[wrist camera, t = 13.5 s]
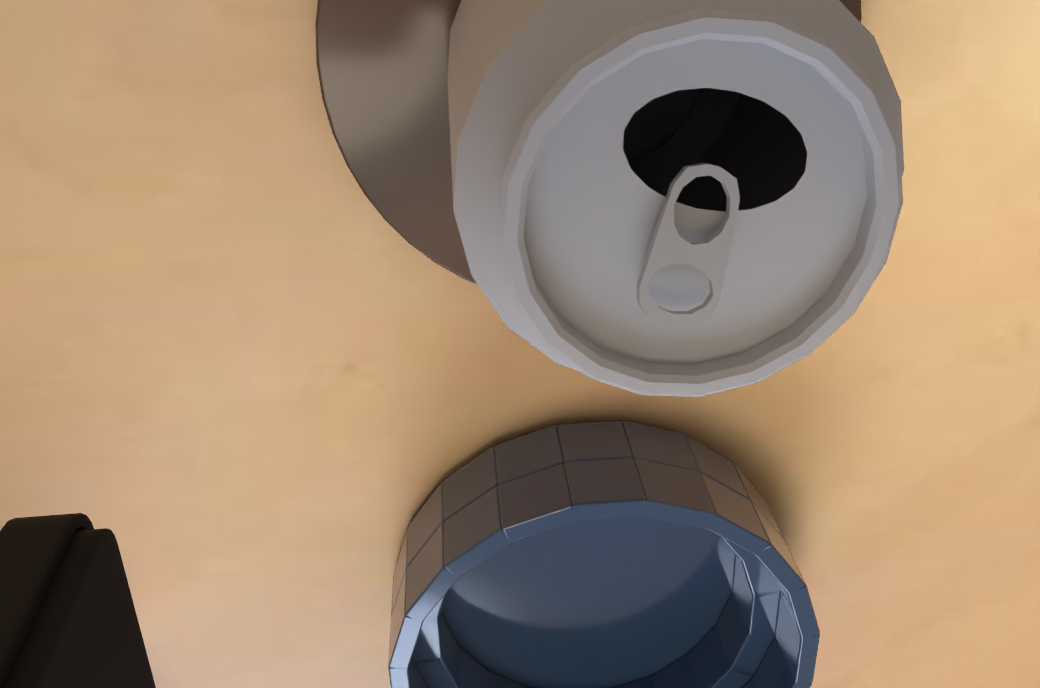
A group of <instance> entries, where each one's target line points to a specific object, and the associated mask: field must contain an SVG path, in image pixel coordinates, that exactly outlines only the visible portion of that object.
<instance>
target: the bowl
mask: <svg viewBox="0 0 1040 688" xmlns="http://www.w3.org/2000/svg"><path fill="white" fill-rule="evenodd" d="M819 636H820V631H819V627H818V624H817V620H816V617H815V613H814V610H813V606H812V603H811V599H810V596H809V592H808V589H807V586H806V583H805V581H804V579H803V577H802V575H801V573H800V571H799V569H798V567H797V565H796V563H795V561H794V559H793V557H792V554H791V552H790V550H789V548H788V546H787V544H786V543H785V540H784V538H783V536H782V534H781V532H780V530H779V528H778V526H777V524H776V522H775V520H774V518H773V516H772V513H771V511H770V509H769V507H768V505H767V503H766V501H765V500H764V498H763V497H762V496H761V495H760V494H759V492H758V491H757V490H756V489H755V488H754V486H753V485H752V484H751V483H750V481H749V480H748V479H747V478H746V477H745V475H744V474H743V473H742V472H741V471H740V469H739V468H738V467H737V466H736V465H735V463H732V461H730V460H728V459H727V458H725V457H723V456H721V455H720V454H718V453H716V452H714V451H713V450H711V449H709V448H707V447H706V446H704V445H702V444H700V443H699V442H697V441H695V440H693V439H692V438H690V437H688V436H687V435H683V433H680V432H675V431H671V430H666V429H661V428H657V427H652V426H647V425H643V424H638V423H633V422H629V421H624V420H623V421H622V422H621V421H607V422H591V423H576V424H560V425H557V426H556V425H553V426H550V427H547V428H544V429H541V430H538V431H535V432H533V433H530V434H527V435H524V436H521V437H518V438H515V439H512V440H509V441H506V442H503V443H500V444H497V445H495V446H494V447H491V448H490V449H488V450H487V451H485V452H484V453H482V454H481V455H479V456H478V457H477V458H475V459H474V460H472V461H471V462H469V463H468V464H466V465H465V466H464V467H462V468H461V469H459V470H458V471H456V472H455V473H454V474H452V475H451V476H449V477H448V478H446V479H445V480H444V481H443V482H441V484H440V485H439V486H438V487H437V489H436V490H435V491H434V493H433V494H432V495H431V497H430V498H429V499H428V501H427V502H426V503H425V504H424V506H423V507H422V508H421V510H420V511H419V512H418V514H417V515H416V516H415V518H414V519H413V520H412V521H411V523H410V524H409V526H408V529H407V531H406V535H405V538H404V541H403V545H402V548H401V551H400V555H399V558H398V561H397V565H396V568H395V572H394V576H393V593H392V611H391V630H390V648H389V666H388V668H389V676H390V685H391V688H810V687H811V685H812V682H813V676H814V669H815V663H816V656H817V650H818V643H819Z"/></svg>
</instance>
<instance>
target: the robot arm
mask: <svg viewBox="0 0 1040 688" xmlns="http://www.w3.org/2000/svg"><path fill="white" fill-rule="evenodd" d="M0 688H156V687H155V684H154V680H153V676H152V672H151V668H150V665H149V661H148V657H147V653H146V650H145V646H144V642H143V638H142V634H141V631H140V627H139V623H138V619H137V616H136V612H135V608H134V604H133V600H132V597H131V593H130V589H129V585H128V582H127V578H126V574H125V570H124V566H123V563H122V559H121V555H120V551H119V547H118V544H117V541H116V538H115V535H114V534H113V532H112V531H111V530H110V529H95V530H94V528H93V525H92V522H91V521H90V520H89V518H88V517H87V516H86V515H84V514H81V513H77V514H63V515H50V516H37V517H24V518H14V519H12V520H10V521H8V522H7V523H6V524H5V526H4V527H3V528H2V529H1V531H0Z"/></svg>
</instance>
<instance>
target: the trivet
mask: <svg viewBox="0 0 1040 688" xmlns="http://www.w3.org/2000/svg"><path fill="white" fill-rule="evenodd" d="M839 1H840V2H841V3H842V4H843V5H844V6H845V7H846V8H847V9H848V10H849V11H850V12H851V13H852V14H853V15H854V16H855V17H856V18H857V19H858V21H859V22H860V23H861V0H839ZM460 2H461V0H318V5H317V15H316V57H317V68H318V74H319V80H320V86H321V93H322V99H323V102H324V105H325V109H326V112H327V116H328V119H329V122H330V126H331V129H332V132H333V135H334V137H335V139H336V142H337V144H338V146H339V148H340V151H341V153H342V155H343V157H344V160H345V162H346V164H347V166H348V168H349V169H350V171H351V173H352V174H353V176H354V178H355V179H356V181H357V182H358V184H359V186H360V187H361V189H362V191H363V192H364V194H365V195H366V197H367V198H368V199H369V200H370V202H371V203H372V204H373V205H374V207H375V208H376V209H377V210H378V212H379V213H380V214H381V215H382V217H383V218H384V219H385V220H386V221H387V222H388V223H389V224H390V225H391V226H392V227H393V228H394V229H395V230H396V231H397V232H398V233H399V234H400V235H401V236H402V237H403V238H404V239H405V240H406V241H407V242H408V243H410V244H411V245H412V246H414V247H415V248H416V249H418V250H419V251H420V252H422V253H423V254H424V255H426V256H427V257H428V258H430V259H431V260H432V261H434V262H435V263H437V264H439V265H440V266H442V267H444V268H446V269H447V270H449V271H451V272H453V273H454V274H456V275H458V276H460V277H462V278H464V279H466V280H468V281H471V282H473V283H476V281H475V280H474V278H473V277H472V275H471V272H470V268H469V265H468V261H467V258H466V254H465V251H464V247H463V244H462V240H461V236H460V233H459V229H458V226H457V222H456V219H455V215H454V210H453V188H452V166H451V144H450V122H449V100H448V60H449V41H450V29H451V26H452V24H453V21H454V18H455V16H456V13H457V10H458V8H459V5H460ZM476 284H477V283H476Z"/></svg>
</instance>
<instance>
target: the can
mask: <svg viewBox="0 0 1040 688" xmlns="http://www.w3.org/2000/svg"><path fill="white" fill-rule="evenodd" d="M448 100H449V122H450V144H451V166H452V188H453V210H454V215H455V219H456V222H457V226H458V229H459V233H460V236H461V240H462V244H463V247H464V251H465V254H466V258H467V261H468V265H469V268H470V272H471V275H472V277H473V278H474V280H475V281H476V283H477V284H478V286H479V287H480V288H481V290H482V291H483V293H484V294H485V296H486V297H487V298H488V300H489V301H490V303H491V304H492V306H493V307H494V308H495V310H496V311H497V313H498V314H499V316H500V317H501V318H502V320H503V321H504V323H505V324H506V326H507V327H508V328H509V329H511V330H512V331H513V332H515V333H516V334H518V335H519V336H520V337H522V338H523V339H524V340H526V341H527V342H528V343H530V344H531V345H532V346H534V347H535V348H537V349H538V350H539V351H541V352H542V353H543V354H545V355H546V356H547V357H549V358H550V359H551V360H553V361H554V362H556V363H557V364H559V365H562V366H565V367H568V368H571V369H574V370H577V371H580V372H581V373H583V374H584V375H585V376H587V377H588V378H591V379H594V380H597V381H600V382H603V383H606V384H609V385H612V386H615V387H618V388H621V389H624V390H627V391H630V392H633V393H636V394H639V395H652V396H680V397H701V396H705V395H709V394H714V393H718V392H722V391H726V390H730V389H735V388H739V387H743V386H747V385H751V384H756V383H758V382H759V381H761V380H763V379H765V378H767V377H769V376H771V375H773V374H774V373H776V372H778V371H780V370H782V369H784V368H786V367H788V366H789V365H791V364H793V363H795V362H797V361H799V360H801V359H803V358H804V357H806V356H808V355H810V354H811V353H812V352H813V351H814V350H815V349H816V348H817V347H818V346H819V345H820V344H821V343H823V342H824V341H825V340H826V339H827V338H828V337H829V336H830V335H831V334H832V333H833V332H834V331H836V330H837V329H838V328H839V327H840V326H841V325H842V324H843V323H844V322H845V321H846V320H847V319H848V318H850V317H851V316H852V315H853V314H854V313H855V311H856V309H857V308H858V306H859V305H860V303H861V301H862V300H863V298H864V297H865V295H866V293H867V292H868V290H869V289H870V287H871V285H872V284H873V282H874V280H875V279H876V277H877V276H878V274H879V272H880V271H881V269H882V268H883V266H884V264H885V263H886V261H887V258H888V254H889V250H890V247H891V243H892V239H893V236H894V232H895V229H896V225H897V221H898V218H899V214H900V210H901V207H902V203H903V197H902V175H903V171H904V161H903V140H902V119H901V101H900V98H899V96H898V93H897V91H896V89H895V86H894V84H893V81H892V79H891V76H890V74H889V72H888V69H887V67H886V64H885V62H884V60H883V57H882V55H881V52H880V50H879V47H878V45H877V43H876V40H875V38H874V36H873V35H872V34H871V33H870V32H869V31H868V30H867V29H866V28H865V27H864V26H863V25H862V24H861V23H860V22H859V21H858V19H857V18H856V17H855V16H854V15H853V14H852V13H851V12H850V11H849V10H848V9H847V8H846V7H845V6H844V5H843V4H842V3H841V2H840V1H839V0H461V2H460V5H459V8H458V10H457V13H456V16H455V18H454V21H453V24H452V26H451V29H450V41H449V60H448Z"/></svg>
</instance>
